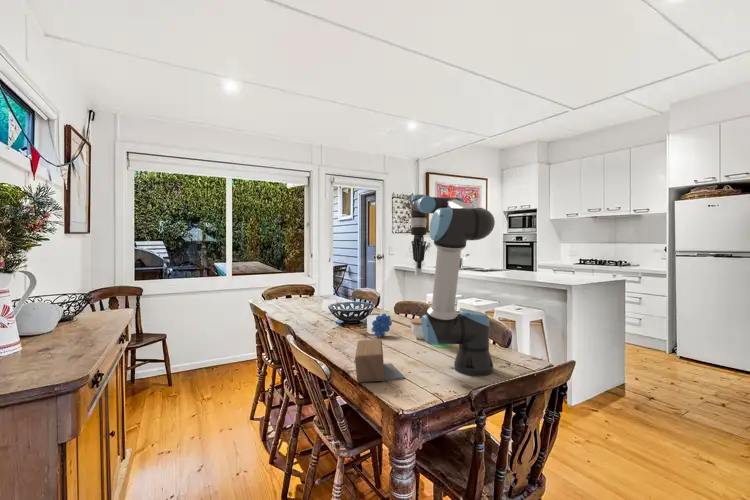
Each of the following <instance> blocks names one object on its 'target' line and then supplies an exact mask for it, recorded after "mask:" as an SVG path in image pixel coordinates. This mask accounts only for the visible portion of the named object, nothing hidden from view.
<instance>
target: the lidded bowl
mask: <svg viewBox="0 0 750 500" xmlns="http://www.w3.org/2000/svg"><path fill="white" fill-rule="evenodd" d="M421 319H422V317H415V318H413V319H411V320H410V325H411V326H410V328H411V333H412V334H413V335H414V336H415V338H416V339H417V340H425V338H424V335H423V331H422V323H421Z"/></svg>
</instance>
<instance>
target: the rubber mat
mask: <svg viewBox="0 0 750 500" xmlns="http://www.w3.org/2000/svg"><path fill="white" fill-rule="evenodd" d="M405 379H406V376H404V374H403V373H401V371H399V369H398V368H396V367H395V365H393V364H392V363H384V380H382V381H381V382H388V381H396V380H397V381H398V380H405Z"/></svg>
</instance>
